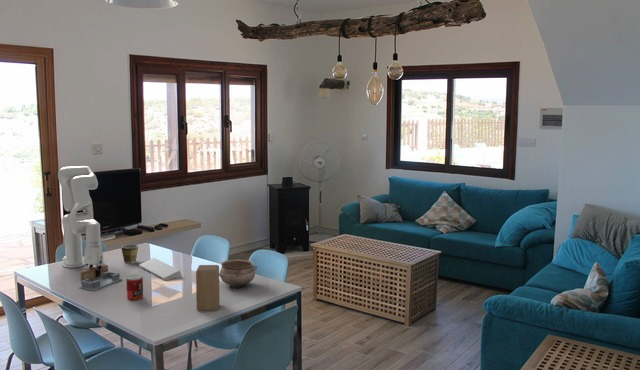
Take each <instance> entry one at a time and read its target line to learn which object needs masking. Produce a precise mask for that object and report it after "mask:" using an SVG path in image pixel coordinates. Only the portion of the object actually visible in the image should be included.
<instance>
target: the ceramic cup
mask: <svg viewBox="0 0 640 370" xmlns="http://www.w3.org/2000/svg"><path fill="white" fill-rule="evenodd" d="M120 249H121V254H122V258H123V262H124V263H125V264H135V263H136V262H137V257H138V253H139V252H138V251H139V245H138V244H123V245H121V246H120ZM134 262H135V263H134Z"/></svg>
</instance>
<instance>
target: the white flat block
mask: <svg viewBox="0 0 640 370" xmlns="http://www.w3.org/2000/svg"><path fill="white" fill-rule="evenodd" d="M138 265H139V268H141V269H143V270H145V271H146V272H148V271H149V273H150V272H151V274H152V273H153V276H156V277H158V278H159V279H161V280H164V281H165V280H166V281H171V280H173V279H180V278H182V277H183V276H182V273H181V271H180V269H178V268H176V267H174V266H172V265H170V264H167V263H166V262H163V261H161V260H159V259H158V258H156V257H152V258H150V259H148V260H146V261H145V262H141V263H140V264H138ZM170 279H171V280H170Z"/></svg>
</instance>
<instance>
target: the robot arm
mask: <svg viewBox="0 0 640 370" xmlns="http://www.w3.org/2000/svg"><path fill="white" fill-rule="evenodd" d="M57 178H58V182H59V184H60V186H61V190H62V191H61V192H62V203H63V208H64V211H66V212H69V213H67V214H65V215H63V216H62V219H61V223H62V228H63V234H64V252H65V253H64V255H65V256H63V258H61V261H62V262H63V261H64V263H62V267H63V268H67V269H69V268H80V267H83V266H86V267H87V269H89V268H92V267H94V266H96V270H95V272H96V278H99V277H101V276H100V275H101V271H100V269H101V268H102V267H103V266H104V265H106V264H105V263H106V262H104V253H103V252H104V251H103V247H102V244H101V242H102V241H101V240H102V239H101V224H100V223H99V222H98V221H97V220H96V219H94V207H93V201H92V200H93V199H92V198H91V196H90V191H91V190H96V189H98V186H99V182H98V181H99V180H98V179H97V176H96V174H95V173H94V171H93V170H92V169H91V168H90V166H87V165H80V166H79V165H78V166H65V167H61V168H60V169H58V171H57ZM89 190H90V191H89ZM78 211H80V212H78ZM81 211H83V212H81ZM84 234H85V244H86V246H85V247H84V252H83V237H82V235H84ZM83 253H84V255H83ZM83 256H84V257H83ZM98 265H99V266H98ZM98 276H99V277H98Z"/></svg>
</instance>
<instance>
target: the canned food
mask: <svg viewBox="0 0 640 370" xmlns="http://www.w3.org/2000/svg"><path fill="white" fill-rule="evenodd" d="M143 280H144V278H143V275H141V274H130V275H128V276H126V298H127V300H128V301H139V300H141V299H143V297H144V283H143V282H144V281H143Z"/></svg>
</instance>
